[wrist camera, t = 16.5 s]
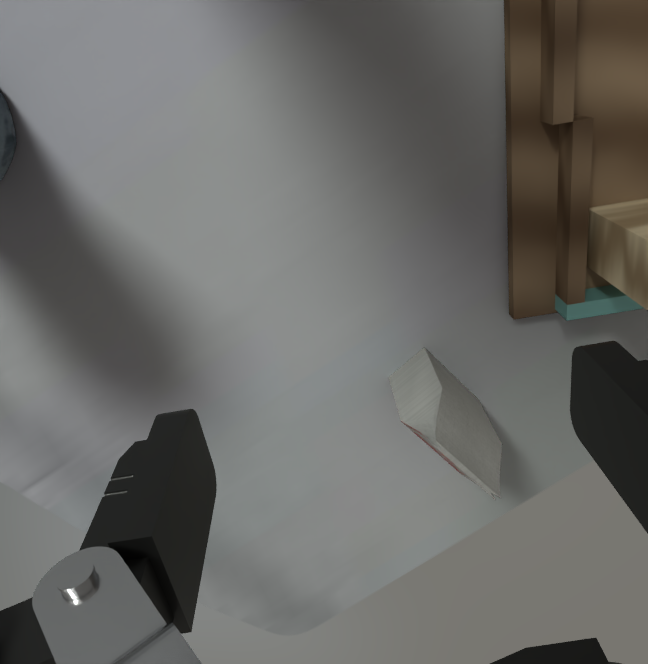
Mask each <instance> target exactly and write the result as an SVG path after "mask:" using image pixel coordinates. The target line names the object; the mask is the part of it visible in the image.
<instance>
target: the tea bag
mask: <svg viewBox="0 0 648 664" xmlns="http://www.w3.org/2000/svg"><path fill="white" fill-rule="evenodd" d="M388 378H389V381H390V385H391V388H392V392H393V395H394V399H395V402H396V406H397V409H398V413H399V416H400V420H401V422H402V423H404V424H405V425H406V426H407V427H408V428H409V429H410V430H412V431H413V432H414V433H415V434H416V435H417V436H418V437H420V438H421V439H422V440H423V441H424V442H425V443H426V444H428V445H429V446H430V447H431V448H432V449H433V450H434V451H436V452H437V453H438V454H439V455H440V456H441V457H442V458H443V459H445V460H446V461H447V462H448V463H449V464H450V465H451V466H453V467H454V468H455V469H456V470H457V471H458V472H459V473H461V474H462V475H463V476H465V477H466V478H468V479H470V480H471V481H473V482H474V483H476V484H478V485H479V486H480V487H481V488H482V489H483V490H484V491H485V492H487V493H488V494H489V495H490V496H491V497H492V498H493V499H495V497H494V496H493V494H494V495H496V496H497V497H499V498H501V494H500V466H501V454H502V443H501V441H500V439H499V438H498V436H497V434H496V432H495V430H494V428H493V426H492V424H491V422H490V421H489V419H488V417H487V415H486V413H485V411H484V409H483V407H482V405H481V403H480V402H479V400H478V399H477V398H476V397H475V396H474V395H473V394H472V393H471V392H470V391H469V390H468V389H467V388H466V387H465V386H464V385H463V384H462V383H461V382H460V381H459V380H458V379H457V378H456V377H455V376H454V375H453V374H452V373H451V372H449V371H448V370H447V369H446V368H445V367H444V366H443V365H442V364H441V363H440V362H439V361H438V360H437V359H436V358H435V357H434V356H433V355H432V354H431V353H430V352H429V351H428V350H427V349H426V348H425V347H424V348H423V349H422V350H421V351H419V352H418V353H417V354H416V355H415V356H413V357H412V358H411V359H410V360H409V361H407V362H406V363H405V364H404V365H403V366H401V367H400V368H399V369H398V370H397V371H395V372H394V373H393V374H392V375H391V376H389V377H388ZM495 500H496V499H495Z"/></svg>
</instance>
